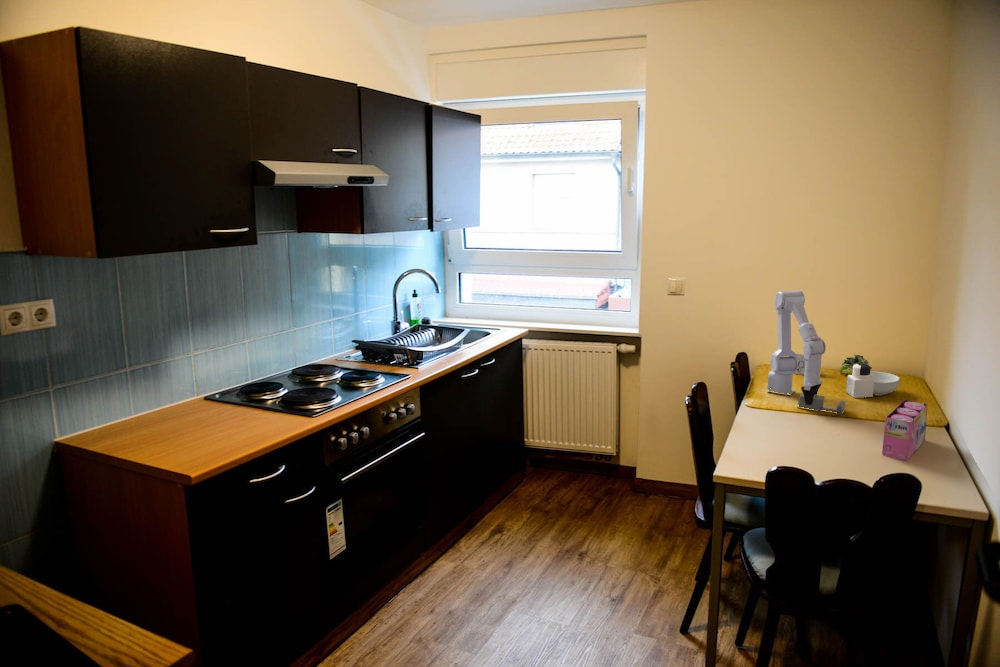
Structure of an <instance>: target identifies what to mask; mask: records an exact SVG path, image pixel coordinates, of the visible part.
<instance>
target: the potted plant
mask: <svg viewBox="0 0 1000 667" xmlns="http://www.w3.org/2000/svg"><path fill="white" fill-rule="evenodd" d="M855 364H866V365H868V366H870V364H869V361H868V359H865V358H864V355H860V354H854V355H853V356H850V357H849V356H846V357H845V359H843V362H842V363H841V367H840V368H839V369H838V372H839V373H840V374H842V373H843V372H846V371H848V370H849V371H850V372H849V373H851V374H852V372H853V366H854V365H855ZM870 367H871V369H870V370H872V366H870Z"/></svg>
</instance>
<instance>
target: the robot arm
mask: <svg viewBox="0 0 1000 667" xmlns="http://www.w3.org/2000/svg"><path fill="white" fill-rule="evenodd" d="M774 297H775V298H774V301H775V302H774V303H775V304H774V308H775V311H777V350H776V351H774V352H772V354H771V360H770V362H769V363H770V364H769V365H770V369H771V370H770V371H769V372H768V376H767V389H766V390H769V391H774V392H778V393H784V394H787V393H789V394H791V395H792V394H794V392H795V389H793V376H794V373H795V371H796V370H797V368H798V360H797V354H798V353H796V352H795V351H793V350H792V322H791V321H792V320H791V319H792V317H791V316H792V315H791V313H793V316H794V317H795V319H796V322H797V323H798V325H799V328H798V332H799V334H800V337H801V340H802V343H803V346H802V350H803V355H804V358H805V372H804V375H803V381H802V382H803V385H804V386H803V385H802V386H801V388H800V390H801V392H802V393H803V394H804V399H805V404H806V405H811V404H812V402H813V397H814V395H818V393H819V390H820V388H821V386H822V384H824V381H822V380H821V369H822V357H823V354H825V353H826V350H827V349H826V343H825V341H824V340H823V338H822V339H821V337H820V336H819V335H818V333H817V331H816V329H815V326H814V324H813V323H811V322H810V321H809V318H808V316H807V312H806V309H805V302H806V298H805V297H806V296H805V293H804V292H803V290H800V289H798V290H790V291H778V292H777V293H776V294H775V296H774ZM770 388H771V389H770Z"/></svg>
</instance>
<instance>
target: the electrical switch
mask: <svg viewBox="0 0 1000 667" xmlns="http://www.w3.org/2000/svg"><path fill="white" fill-rule="evenodd" d="M796 354H797V360H798V368H797V370H796V371H795V373H793V375H794V374H795V375H801V376H804V372H805V358H804V353H803V354H802V353H796Z"/></svg>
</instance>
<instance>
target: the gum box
mask: <svg viewBox="0 0 1000 667" xmlns="http://www.w3.org/2000/svg"><path fill="white" fill-rule="evenodd" d="M928 405H929V404H928V403H926V402H924V403H923V404H921V403H919V402H914V401H912V402H911V401H910V400H909V399H904V400H903V401H901V402H900V403H899V404H898V405H897V406H896V407H895V408H894V409H893V410H892V411H891V412H890V413H889V414H888V415H887V416H885V420H884V431H883V439H882V440H883V441H882V450H881V455H882V454H883V455H882V456H885V455H886V457H890V458H894V459H898V460H904V461H908V460H909V459H910V457H912V456H913V454H914V453H915V452H916V450H918V449H919V447H920V446H921V445H923V442H925V441H926V430H927V429H926V428H927V418H928V408H929V406H928Z"/></svg>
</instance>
